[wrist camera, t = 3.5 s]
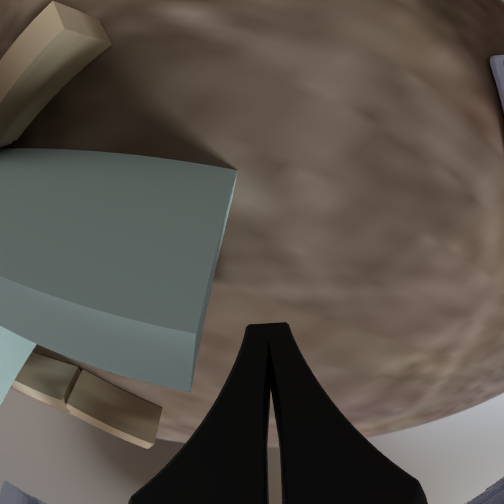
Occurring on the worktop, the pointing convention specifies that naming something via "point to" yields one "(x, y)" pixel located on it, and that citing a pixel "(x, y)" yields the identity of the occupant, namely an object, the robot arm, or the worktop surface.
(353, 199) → the worktop surface
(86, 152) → the l-shaped corner panel
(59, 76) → the pocket
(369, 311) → the worktop surface
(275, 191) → the worktop surface
